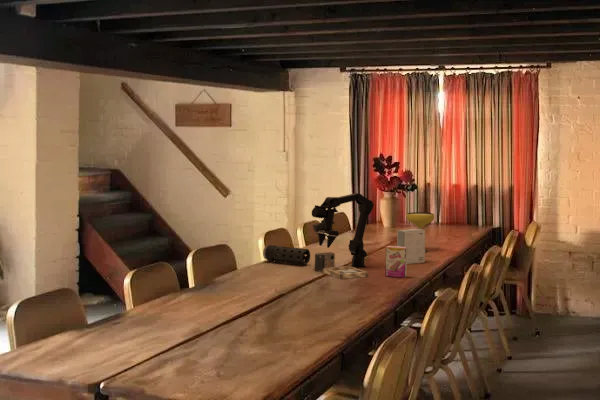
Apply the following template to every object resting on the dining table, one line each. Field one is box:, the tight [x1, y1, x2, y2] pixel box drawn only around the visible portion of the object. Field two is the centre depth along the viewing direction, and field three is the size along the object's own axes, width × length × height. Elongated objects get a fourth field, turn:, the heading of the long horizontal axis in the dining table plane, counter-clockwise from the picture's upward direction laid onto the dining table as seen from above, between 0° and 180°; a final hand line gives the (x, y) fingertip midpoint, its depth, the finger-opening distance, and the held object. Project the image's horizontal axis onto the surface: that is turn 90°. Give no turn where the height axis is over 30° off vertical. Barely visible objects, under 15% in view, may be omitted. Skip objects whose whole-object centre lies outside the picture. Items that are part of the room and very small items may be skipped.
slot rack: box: [322, 265, 369, 280], centre depth 409 cm, size 17×20×2 cm
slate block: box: [341, 270, 358, 274], centre depth 405 cm, size 8×5×3 cm, turn 114°
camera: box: [314, 251, 336, 272], centre depth 422 cm, size 11×6×10 cm, turn 112°
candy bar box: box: [384, 245, 408, 279], centre depth 405 cm, size 11×5×16 cm, turn 71°
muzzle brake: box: [262, 244, 311, 267], centre depth 442 cm, size 10×28×10 cm, turn 59°
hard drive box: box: [396, 228, 426, 265], centre depth 450 cm, size 16×8×20 cm, turn 115°
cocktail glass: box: [406, 211, 435, 253], centre depth 494 cm, size 18×18×25 cm
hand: (324, 246), depth 421 cm, fingers open, 9 cm apart
